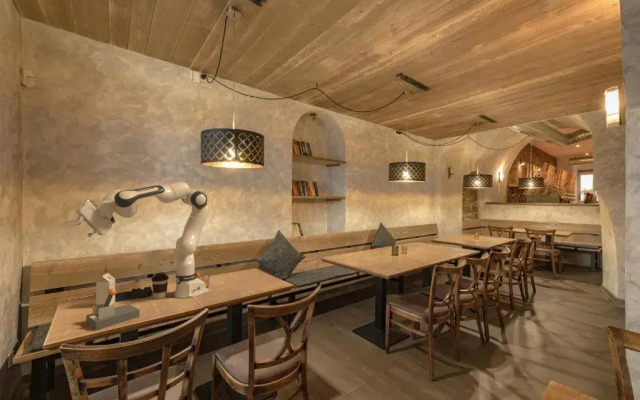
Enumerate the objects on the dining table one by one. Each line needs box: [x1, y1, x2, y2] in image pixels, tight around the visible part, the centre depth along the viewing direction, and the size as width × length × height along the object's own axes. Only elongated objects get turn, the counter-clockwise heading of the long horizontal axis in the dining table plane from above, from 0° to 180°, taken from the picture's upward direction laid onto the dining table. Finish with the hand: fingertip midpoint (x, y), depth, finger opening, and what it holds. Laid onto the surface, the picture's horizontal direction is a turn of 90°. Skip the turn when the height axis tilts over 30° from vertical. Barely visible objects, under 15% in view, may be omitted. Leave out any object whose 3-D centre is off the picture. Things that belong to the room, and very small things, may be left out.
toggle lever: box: [103, 289, 118, 308], centre depth 156 cm, size 3×3×12 cm
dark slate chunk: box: [115, 285, 153, 303], centre depth 195 cm, size 15×22×5 cm
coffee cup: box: [150, 273, 170, 300], centre depth 193 cm, size 10×10×15 cm
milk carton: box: [95, 272, 116, 306], centre depth 179 cm, size 7×7×19 cm
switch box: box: [85, 303, 141, 331], centre depth 158 cm, size 20×14×9 cm
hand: (82, 230), depth 154 cm, fingers open, 8 cm apart
